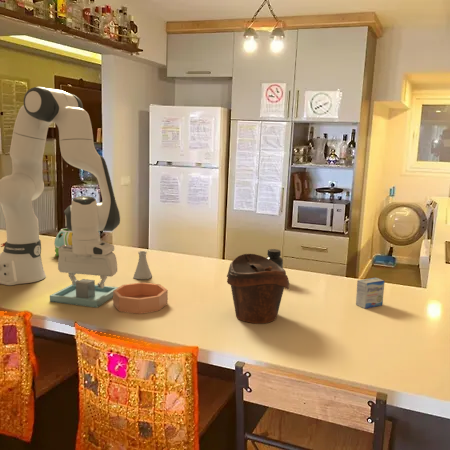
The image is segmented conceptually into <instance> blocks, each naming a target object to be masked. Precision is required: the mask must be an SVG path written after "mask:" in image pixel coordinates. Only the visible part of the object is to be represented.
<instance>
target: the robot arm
mask: <svg viewBox="0 0 450 450" xmlns="http://www.w3.org/2000/svg"><path fill="white" fill-rule="evenodd" d="M52 124H55V125H56V126H57V129H58V136H59V137H58V141H59V148H60V149H59V150H60V154H61V155H60V156H61V157H62V158H63V161H64V162H66V163H67V164H69V165H70V166H72V167H74V168H77V169H79V170H82V171H86V172H88V173H90V174H92V175H93V176H94V177H95V178H96V180H97V183H98V188H99V191H100V194H101V198H102V201H101V202H97V200H96V198H95V197H92V196H89V195H80V196H76V197H74V198H72V199H71V204H70V205H68V206H67V207H66V209H64V211H63V213H64V219H65V222H64V228H67V229H69V230H70V231H73V235H72V245H62V246H60V247H59V249H58V253H59V256H58V259H57V262H58V263H57V269H58V271H59V272H60V273H65V274H67V273H68V278H69V279H70V280H71V284H72V286H76V282H78V281H80V280H79V279H77V277H76V275H87V276H88V275H89V276H98V277H99V276H100V281H99V282H98V283H97V285H98V288H104V286H105V283H106V280H107V279H108V277H110V278H111V277H113V276H115V275H116V274H117V273H118V261H117V255H116V254H115V252H114V251H115V245H114V244H113V243H112V244H111V243H109V242H106V241H104V240H103V239H101V235H100V232H99V231H101V232H113V231H114V230H116V228H117V227H118V226H119V225H120V224H121V213H120V210H119V206H118V205H117V201H116V197H115V193H114V188H113V185H112V180H111V177H110V172H109V169H108V165H107V162H106V159H105V157H104V156H102V155H101V154H99V153H98V151H97V150H96V147H95V143H94V134H93V128H92V127H93V126H92V121H91V118H90V115H89V113H88V111H86V110H85V109H84V105H83V102H82V100H81V99H80V97H78V96H77V95H75V94H74V93H71V92H66V91H64V90H62V89H58V88H49V87H44V86H34V87H31V88H28V90H27V91H26V92H25V94H24V97H23V105H22V106H20V108H19V110H18V113H17V115H16V118H15V122H14V125H13V129H12V130H13V131H12V136H11V143H10V148H9V156H10V158H11V164H12V166H11V168H12V171H11V174H8V175H4V176H3V177H1V178H0V207H1V210H2V214H3V216H4V221H5V232H6V241H5V242H2V243H0V247H1V248H3V250H2V251H1V253H0V284H1V285H4V286H5V285H6V286H14V285H21V284H29V283H35V282H39V281H41V280H44V279H45V278H46V277H47V275H46V273H45V270H44V266H43V260H42V255H41V254H42V241H41V239H40V225H39V219H38V217H37V215H36V213H35V209H34V206H33V201H35V200H37V199H38V198H40V196H42V195H41V194H42V193H43V192H44V190H45V183H44V179H43V177H44V176H43V159H44V152H45V150H46V149H45V148H46V142H47V135H48V131H49V128H50V126H51V125H52ZM61 247H62V248H61Z"/></svg>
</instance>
